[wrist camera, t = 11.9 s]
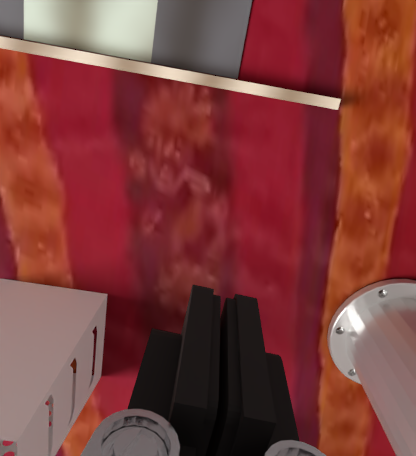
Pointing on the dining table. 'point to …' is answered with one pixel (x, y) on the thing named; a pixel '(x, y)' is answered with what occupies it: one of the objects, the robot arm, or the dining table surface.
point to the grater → (46, 362)
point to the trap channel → (145, 39)
